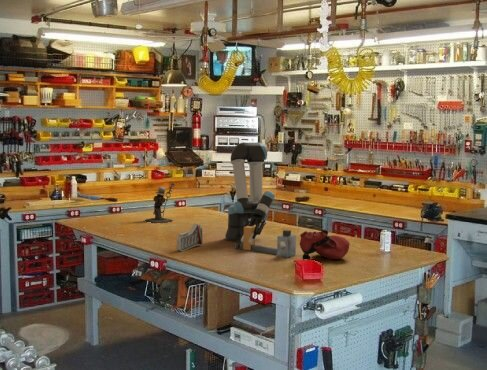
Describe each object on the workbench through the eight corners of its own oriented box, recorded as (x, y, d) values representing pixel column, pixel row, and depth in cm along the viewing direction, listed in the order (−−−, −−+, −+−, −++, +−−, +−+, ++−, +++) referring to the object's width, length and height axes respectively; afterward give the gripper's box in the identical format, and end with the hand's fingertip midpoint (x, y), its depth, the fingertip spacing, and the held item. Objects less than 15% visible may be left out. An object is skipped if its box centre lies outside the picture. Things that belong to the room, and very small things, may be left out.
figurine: (138, 222, 469) (138, 183, 465) (151, 217, 491) (151, 180, 487) (165, 224, 462) (166, 184, 459) (177, 219, 484) (178, 182, 481)
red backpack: (358, 233, 352) (317, 229, 336) (352, 267, 352) (311, 265, 337) (332, 226, 372) (292, 222, 357) (327, 258, 373) (286, 255, 358)
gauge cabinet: (276, 256, 360) (277, 236, 359) (285, 253, 369) (285, 233, 367) (286, 257, 356) (287, 237, 355) (295, 254, 365) (296, 235, 363)
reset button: (282, 239, 361) (282, 230, 361) (285, 238, 364) (285, 229, 363) (287, 240, 359) (288, 231, 359) (290, 239, 362) (290, 230, 361)
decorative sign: (180, 255, 368) (179, 231, 365) (177, 255, 369) (175, 231, 366) (203, 245, 387) (202, 222, 384) (199, 245, 388) (198, 222, 386)
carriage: (243, 249, 376) (243, 227, 375) (248, 247, 381) (248, 225, 379) (249, 250, 373) (250, 227, 372) (254, 248, 378) (255, 226, 377)
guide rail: (235, 248, 380) (235, 242, 379) (239, 247, 384) (239, 241, 384) (278, 255, 363) (278, 249, 362) (282, 253, 367) (282, 248, 366)
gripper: (246, 207, 388) (231, 236, 376) (270, 210, 378) (256, 240, 366) (250, 214, 393) (236, 243, 381) (275, 217, 383) (260, 247, 371)
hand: (245, 242), depth 374 cm, fingers closed on carriage, 5 cm apart
